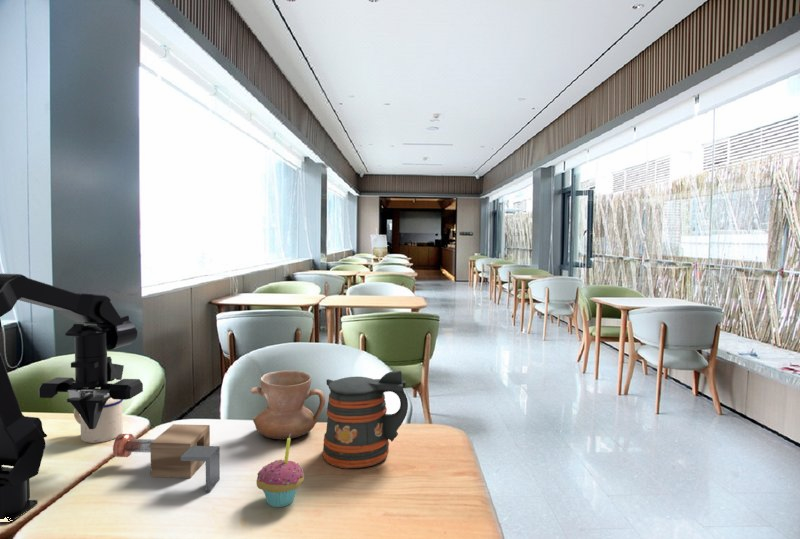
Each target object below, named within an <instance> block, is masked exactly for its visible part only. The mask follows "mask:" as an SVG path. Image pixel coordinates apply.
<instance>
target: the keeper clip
mask: <svg viewBox="0 0 800 539" xmlns="http://www.w3.org/2000/svg"><path fill="white" fill-rule="evenodd" d="M220 448H221V447H220V445H219V446H217V445H210V446H191V447H190V448H189V449H188V450H187V451H186V452H185V453H184V454H183V455H182V456H181V461H205V492H206V493H209V492H211V491H212V490H213V489H214V488H215V486H216V485H217V483H218V482H219V481H220V480H221V479H220V475H221V474H220V472H221V471H220V469H221V468H220V467H221V466H220V464H221V463H220V462H221V458H220Z"/></svg>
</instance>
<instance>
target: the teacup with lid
mask: <svg viewBox="0 0 800 539" xmlns="http://www.w3.org/2000/svg"><path fill="white" fill-rule="evenodd" d="M123 401H124V400H119V399H112V398H110V399H108V401H107V402H106V404H105V406H104V408H103V410H102V413H101V415H100V418H99V421H98V423H97V426H96V428H95V429H89V428H88V426H87V425H86V423H85V422H84V420H83V418H82V417H81V415H80V414H79V412H78V411H77V410H76V409H75V408H74V409H73V417H74V420H75V421H76V422H77V423H78V424H79V425H80V439H81V441H82V442H85V443H88V444H89V443H92V444H93V443H95V444H96V443H104V442H105V443H106V442H109V441H111V440H115V439H116V437H117V436H118V435H119V434H123V430H124V429H123Z"/></svg>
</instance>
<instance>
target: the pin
mask: <svg viewBox="0 0 800 539" xmlns="http://www.w3.org/2000/svg"><path fill="white" fill-rule="evenodd" d="M154 439H155V438H154ZM154 439H149V438H145V439H144V438H135V436H134V435H133V433H122V434H119V435H118V436H117V437H116V438H115V439H114V441H113V446H112V452H113V456H114V457H115V458H128V457H130V456H131V455H132V453H148V454H149V453H150V454H151V452H150V443H151V442H152V441H153V440H154Z"/></svg>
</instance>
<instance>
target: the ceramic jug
mask: <svg viewBox="0 0 800 539" xmlns="http://www.w3.org/2000/svg"><path fill="white" fill-rule="evenodd" d="M311 384H312V375H311V374H309V373H307V372H305V371H299V370H279V371H273V372H272V371H271V372H268V373H265V374H263V375H262V376H261V377H260V387H259V386H255V387H252V388H251V390H250V393H251V394H252V395H255V394H258V395H259V396H261V397H263V398H264V399H265V401H266V404H267V405H268V406H267V407H266V408H264V409H263V410H261V411H260V412H259V413H257V415H255V416H253V418H252V421H253V424H254V427H255V429H256V431H257V432H258V433H259V434H260V435H262V436H264V437H265V438H269V439H271V440H272V439H274V440H287V438H289V434H291V435H290V439H295V438H299V437H301V436H304V435H306V434H308V433H309V432H311V431H312V430H313V429H314V427H315V426H316V424H317V423H318V421H319V417H320V415H321V413H322V412H323V410H324V408H325V405H326V396H325V394H324V392H323V390H320V389H318V388H313V389H310V388H311ZM315 395H316V396H318V398H319V405H318V407H317V410H316V412H315V414H314V413H313V412H312V411H311V410H310V409H309V408H307V407H306V406H305V405H304V403H305V401H306V400H307V399H309V398H310V397H311V396H315Z"/></svg>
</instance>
